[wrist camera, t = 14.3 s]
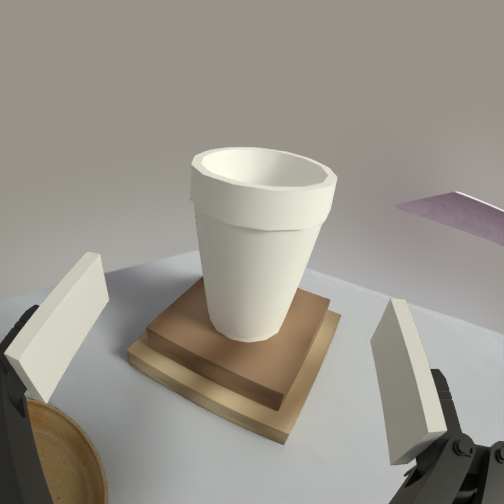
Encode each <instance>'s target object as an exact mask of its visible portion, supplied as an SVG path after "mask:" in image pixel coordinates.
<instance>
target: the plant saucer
mask: <svg viewBox="0 0 504 504" xmlns="http://www.w3.org/2000/svg"><path fill="white" fill-rule="evenodd" d="M26 401H27V407H28V412H29V417H30V422H31V427H32V431H33V436H34V440H35V444H36V448H37V452H38V456H39V459H40V463H41V467H42V470H43V473H44V476H45V480H46V483H47V486H48V489H49V492H50V495H51V497H52V500H53V503H54V504H108V489H107V482H106V477H105V472H104V469H103V466H102V463H101V460H100V458H99V455H98V453H97V451H96V449H95V447H94V445H93V444H92V442H91V441H90V439H89V438H88V436H87V435H86V434H85V432H84V431H83V430H82V429H81V427H80V426H79V425H78V424H77V423H76V422H75V421H74V420H72V419H71V418H70V417H69V416H68V415H66V414H65V413H64V412H62V411H60V410H59V409H57V408H56V407H53V406H51V405H49V404H46V403H43V402H41V401H38V400H35V399H29V398H26Z"/></svg>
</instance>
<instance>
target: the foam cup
mask: <svg viewBox="0 0 504 504" xmlns="http://www.w3.org/2000/svg"><path fill="white" fill-rule="evenodd" d="M336 181H337V176H336V175H335V174H334V173H333V172H332V171H331V169H330V168H329V167H327V166H325V165H323V164H320V163H318V162H316V161H314V160H312V159H310V158H307V157H303V156H300V155H296V154H293V153H289V152H285V151H278V150H272V149H264V148H252V147H229V148H220V149H212V150H208V151H206V152H203V153H200V154H198V155H196V156H195V157H194V159H193V161H192V163H191V185H190V199H191V201H192V202H193V203H194V211H195V219H196V227H197V235H198V243H199V251H200V258H201V265H202V273H203V280H204V287H205V293H206V300H207V307H208V313H209V315H210V320H211V322H212V324H213V325H214V327H215V329H216V330H217V331H218V332H220V333H222V334H223V335H225V336H226V337H228V338H230V339H233V340H238V341H243V342H248V343H249V342H256V341H263V340H266V339H268V338H270V337H271V336H273V335H274V334H276V333H278V331H279V329H280V327H281V325H282V323H283V321H284V319H285V317H286V314H287V312H288V310H289V307H290V305H291V302H292V300H293V297H294V295H295V293H296V290H297V288H298V285H299V283H300V280H301V278H302V275H303V273H304V270H305V267H306V265H307V262H308V260H309V257H310V254H311V252H312V249H313V247H314V244H315V242H316V239H317V236H318V233H319V231H320V228H321V225H322V223H323V222H324V221H325V220H326V218H327V216H328V214H329V212H330V209H331V205H332V200H333V195H334V191H335V186H336Z"/></svg>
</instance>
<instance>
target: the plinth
mask: <svg viewBox="0 0 504 504" xmlns="http://www.w3.org/2000/svg"><path fill="white" fill-rule="evenodd" d="M329 303H330V299H327V298H324V297H321V296H318V295H315V294H313V293H310V292H307V291H304V290H301V289H299V288H297V290H296V293H295V295H294V297H293V300H292V302H291V305H290V307H289V310H288V312H287V314H286V317H285V319H284V321H283V323H282V325H281V327H280V329H279V331H278V333H276V334H274V335H273V336H271V337H270V338H268V339H266V340H263V341H256V342H249V343H248V342H243V341H238V340H233V339H230V338H228V337H226V336H225V335H223V334H222V333H220V332H218V331H217V330H216V329H215V327H214V325H213V324H212V322H211V320H210V315H209V313H208V307H207V300H206V293H205V287H204V280H203V277H202V278H201V279H200V280H198V281H197V282H196V283H195V284H194V285H193V286H192V287H191V288H189V289H188V290H187V291H186V292H185V293H184V294H183V295H182V296H181V297H179V298H178V299H177V300H176V301H175V302H174V303H173V304H172V305H171V306H169V307H168V308H167V309H166V310H165V311H164V312H163V313H162V314H161V315H159V316H158V317H157V318H156V319H155V320H154V321H153V322H152V323H151V324H150V325H148V326H147V327H146V329H147V331H146V332H145V333H144V334H143V335H142V336H141V337H140V338H139V339H138V340H136V341H135V342H134V343H133V344H132V345H131V346H130V347H129V348H128V349H127V350H126V351H127V355H128V359H129V362H130V364H131V365H132V366H134V367H135V368H137V369H138V370H140V371H141V372H143V373H145V374H146V375H148V376H149V377H151V378H153V379H154V380H156V381H158V382H159V383H161V384H163V385H164V386H166V387H168V388H169V389H171V390H173V391H175V392H176V393H178V394H180V395H182V396H183V397H185V398H187V399H189V400H191V401H193V402H194V403H196V404H198V405H200V406H202V407H204V408H206V409H208V410H209V411H211V412H213V413H215V414H217V415H219V416H221V417H223V418H225V419H227V420H229V421H232V422H234V423H236V424H238V425H240V426H242V427H244V428H246V429H249V430H251V431H253V432H255V433H257V434H260V435H262V436H264V437H267V438H269V439H271V440H274V441H276V442H279V443H281V444H283V445H284V444H285V442H286V440H287V438H288V436H289V434H290V432H291V430H292V428H293V426H294V424H295V422H296V420H297V418H298V416H299V413H300V411H301V409H302V407H303V405H304V403H305V401H306V399H307V396H308V394H309V392H310V390H311V388H312V385H313V383H314V381H315V379H316V376H317V374H318V372H319V369H320V367H321V365H322V362H323V360H324V358H325V355H326V353H327V351H328V348H329V346H330V343H331V341H332V338H333V336H334V333H335V331H336V328H337V325H338V323H339V320H340V317H341V315H340V314H337V313H335V312H332V311H329V310H327V309H328V306H329Z"/></svg>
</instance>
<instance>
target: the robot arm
mask: <svg viewBox="0 0 504 504" xmlns="http://www.w3.org/2000/svg"><path fill="white" fill-rule="evenodd" d="M108 301H109V296H108V292H107V287H106V282H105V277H104V272H103V266H102V261H101V255H100V254H97V253H92V252H86V253H85V254H84V255H83V257H82V258H81V259H80V260H79V261H78V262H77V263H76V264H75V265H74V266H73V268H72V269H71V270H70V271H69V272H68V273H67V275H66V276H65V277H64V278H63V279H62V280H61V281H60V283H59V284H58V285H57V286H56V287H55V288H54V290H53V291H52V292H51V293H50V294H49V295H48V297H47V298H46V299H45V300H44V302H43V303H42V304H41V305H40V306H38V305H34V306H32V307H31V308H30V309H28V310H27V311H25V313H24V314H23V315H22V316H21V318H20V319H19V321H17V323H16V324H15V325H14V328H12V329H11V330H10V332H9V333H8V334H7V336H6V337H5V338H4V340H3V341H2V342H1V344H0V504H54V503H53V500H52V497H51V495H50V492H49V489H48V486H47V483H46V480H45V476H44V473H43V470H42V467H41V463H40V459H39V456H38V452H37V448H36V444H35V440H34V436H33V431H32V427H31V422H30V417H29V412H28V407H27V401H26V398H25V395H24V393H25V392H26V390H28V392H29V393H30V394H31V396H32V397H33V398H35V399H37V400H39V401H41V402H43V403H46V404H47V402H48V400H49V398H50V397H51V395H52V393H53V391H54V389H55V388H56V386H57V384H58V382H59V380H60V379H61V377H62V375H63V373H64V372H65V370H66V368H67V367H68V365H69V363H70V361H71V360H72V358H73V356H74V355H75V353H76V351H77V350H78V348H79V347H80V345H81V343H82V342H83V340H84V338H85V337H86V335H87V334H88V332H89V330H90V329H91V327H92V326H93V324H94V322H95V321H96V319H97V318H98V316H99V315H100V313H101V312H102V310H103V309H104V307H105V306H106V304H107V302H108ZM370 342H371V347H372V352H373V357H374V362H375V367H376V372H377V377H378V383H379V388H380V394H381V400H382V406H383V413H384V419H385V426H386V433H387V441H388V449H389V457H390V465H401V464H408V463H409V462H411V461H412V460H413V459H415V458H416V463H417V465H415V466H414V467H413V468H411V469H410V470H409V471H407V472H406V473H405V474H404V476H405V477H406V476H407V475H408V474H409V475H408V477H407V478H406V480H405V481H404V483H403V484H402V486H401V487H400V489H399V490H398V491H397V493H396V494H395V496H394V497H393V498H392V500H391V501H390V503H389V504H504V441H498V442H496V443H495V444H493V445H492V446H491V447H486V446H481V445H476V444H474V442H473V440H472V439H471V438H470V437H469V436H468V435H466V434H464V433H462V431H461V428H460V424H459V420H458V417H457V413H456V410H455V406H454V403H453V400H452V396H451V393H450V392H449V387H448V384H447V381H446V378H445V377H444V376H443V374H442V373H441V372H440V370H439V369H430V367H429V364H428V361H427V358H426V355H425V352H424V349H423V346H422V343H421V341H420V338H419V335H418V332H417V329H416V327H415V324H414V321H413V318H412V316H411V313H410V311H409V308H408V305H407V303H406V300H402V299H393V298H390V301H389V303H388V305H387V307H386V309H385V312H384V314H383V316H382V318H381V320H380V322H379V324H378V326H377V328H376V331H375V333H374V335H373V337H372V339H371V341H370Z"/></svg>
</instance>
